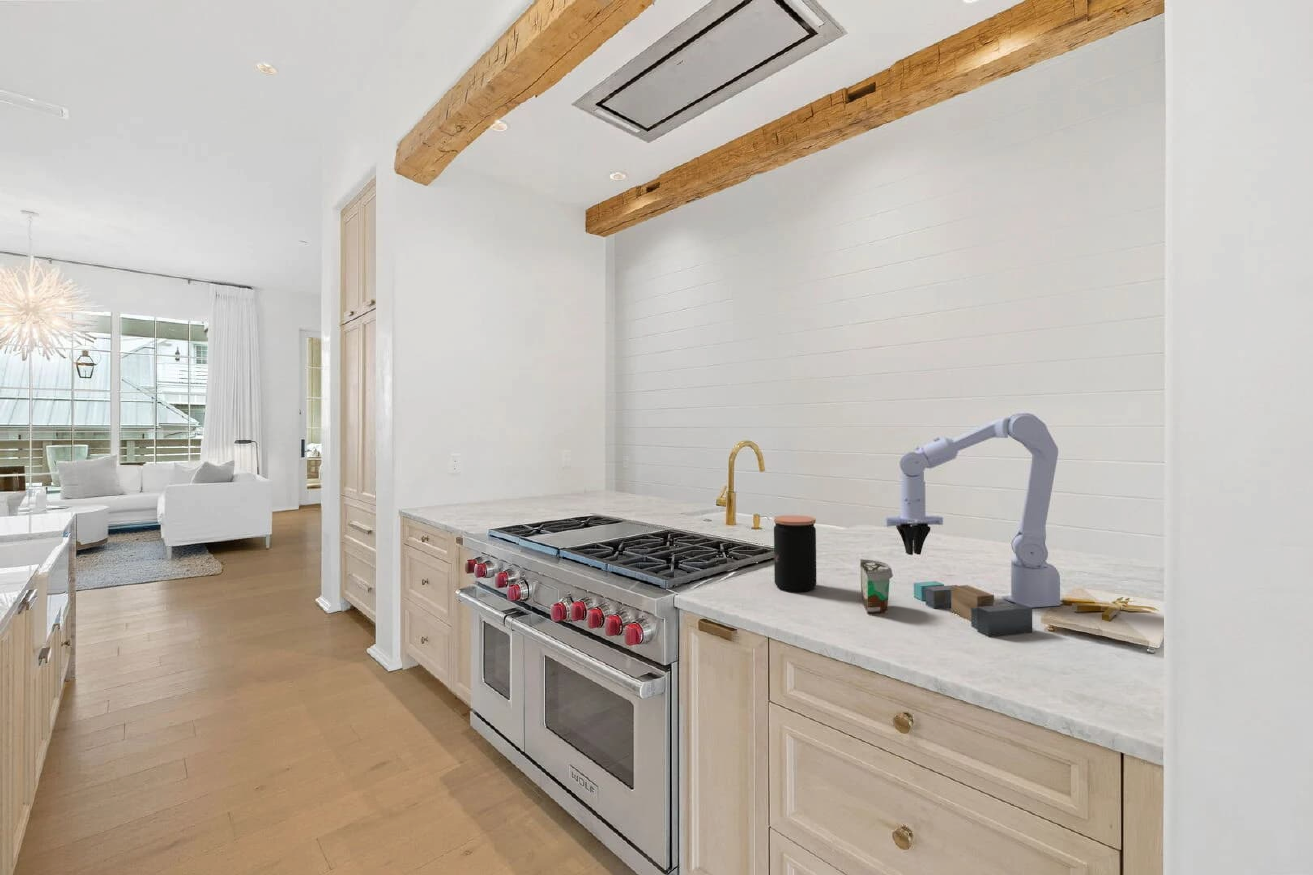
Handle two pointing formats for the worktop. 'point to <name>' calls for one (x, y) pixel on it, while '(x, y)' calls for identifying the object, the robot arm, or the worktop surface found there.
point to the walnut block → (968, 600)
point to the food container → (875, 586)
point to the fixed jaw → (1002, 619)
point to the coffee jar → (795, 553)
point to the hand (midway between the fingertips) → (913, 554)
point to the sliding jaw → (933, 593)
